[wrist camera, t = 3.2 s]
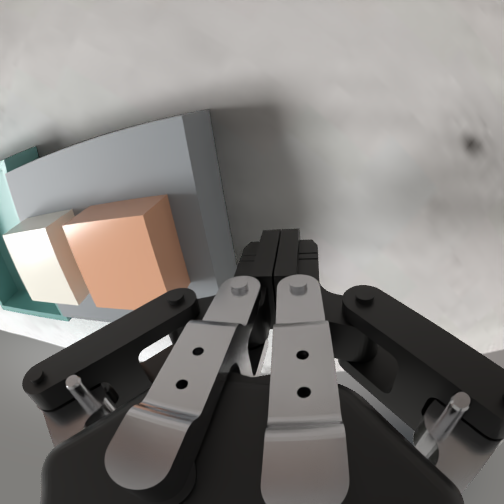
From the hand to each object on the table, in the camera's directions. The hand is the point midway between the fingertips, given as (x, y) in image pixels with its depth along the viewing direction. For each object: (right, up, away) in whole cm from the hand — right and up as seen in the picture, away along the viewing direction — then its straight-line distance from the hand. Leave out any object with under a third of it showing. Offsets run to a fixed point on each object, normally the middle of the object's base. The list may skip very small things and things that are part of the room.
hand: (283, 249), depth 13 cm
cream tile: (-14, 0, +4) cm, 14 cm away
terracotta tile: (-7, 0, +3) cm, 8 cm away
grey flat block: (-10, +2, +7) cm, 12 cm away
